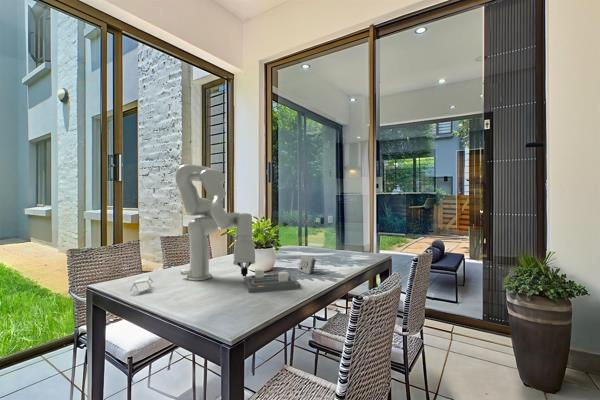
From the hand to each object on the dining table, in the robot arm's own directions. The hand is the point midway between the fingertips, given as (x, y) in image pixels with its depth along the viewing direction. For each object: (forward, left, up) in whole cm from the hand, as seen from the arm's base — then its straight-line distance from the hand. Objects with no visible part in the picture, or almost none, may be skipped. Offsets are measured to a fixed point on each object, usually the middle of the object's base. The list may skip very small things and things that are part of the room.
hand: (244, 275), depth 152 cm
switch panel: (+12, -4, -4) cm, 14 cm away
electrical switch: (+36, +14, -4) cm, 39 cm away
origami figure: (-45, +3, -4) cm, 45 cm away
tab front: (+17, -9, -2) cm, 20 cm away
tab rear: (+7, 0, -2) cm, 8 cm away
